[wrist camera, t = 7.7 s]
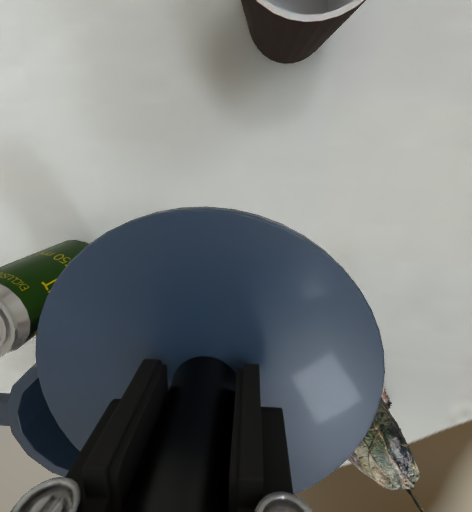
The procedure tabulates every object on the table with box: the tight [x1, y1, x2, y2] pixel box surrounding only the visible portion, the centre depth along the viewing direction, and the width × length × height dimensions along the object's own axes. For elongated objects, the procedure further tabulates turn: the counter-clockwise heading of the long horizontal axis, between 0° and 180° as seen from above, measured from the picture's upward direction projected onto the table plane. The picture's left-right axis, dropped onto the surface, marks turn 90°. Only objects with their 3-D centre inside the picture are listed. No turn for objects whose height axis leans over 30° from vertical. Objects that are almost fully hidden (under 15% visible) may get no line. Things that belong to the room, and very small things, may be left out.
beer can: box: [0, 240, 89, 357], centre depth 24 cm, size 5×5×12 cm
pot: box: [0, 363, 80, 477], centre depth 28 cm, size 12×17×10 cm
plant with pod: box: [347, 383, 425, 512], centre depth 23 cm, size 8×11×20 cm
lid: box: [36, 207, 385, 512], centre depth 9 cm, size 13×13×7 cm
